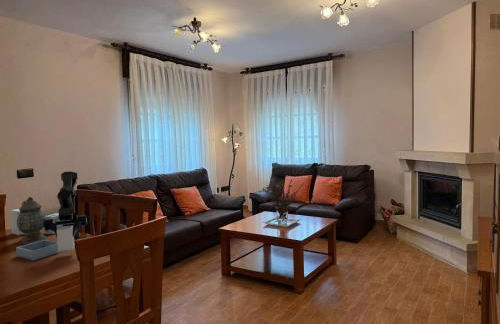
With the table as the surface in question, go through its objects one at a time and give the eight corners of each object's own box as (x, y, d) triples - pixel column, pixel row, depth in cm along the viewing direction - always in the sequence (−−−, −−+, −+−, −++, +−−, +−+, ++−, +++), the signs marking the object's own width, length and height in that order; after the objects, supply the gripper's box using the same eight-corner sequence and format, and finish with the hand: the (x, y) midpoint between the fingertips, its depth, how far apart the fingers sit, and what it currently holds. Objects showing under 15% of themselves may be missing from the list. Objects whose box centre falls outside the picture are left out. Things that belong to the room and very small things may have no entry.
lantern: (19, 245, 180) (15, 200, 179) (17, 239, 191) (14, 197, 190) (48, 239, 189) (45, 196, 187) (45, 234, 200) (42, 194, 198)
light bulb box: (53, 234, 201) (51, 216, 200) (43, 233, 202) (42, 216, 201) (66, 229, 211) (65, 213, 210) (57, 229, 213) (56, 212, 212)
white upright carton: (59, 248, 162) (58, 227, 161) (74, 246, 165) (73, 225, 164) (58, 252, 156) (56, 230, 155) (73, 250, 159) (71, 228, 158)
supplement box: (18, 235, 200) (16, 211, 199) (11, 233, 204) (9, 210, 203) (34, 231, 207) (32, 208, 206) (27, 230, 212) (26, 207, 211)
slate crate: (45, 247, 174) (45, 239, 174) (61, 251, 167) (61, 242, 167) (16, 256, 162) (16, 247, 161) (32, 260, 155) (32, 251, 155)
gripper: (42, 203, 159) (39, 231, 149) (85, 199, 166) (85, 226, 157) (46, 216, 166) (43, 243, 157) (87, 211, 174) (87, 237, 165)
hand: (65, 237), depth 159 cm, fingers closed on white upright carton, 6 cm apart
